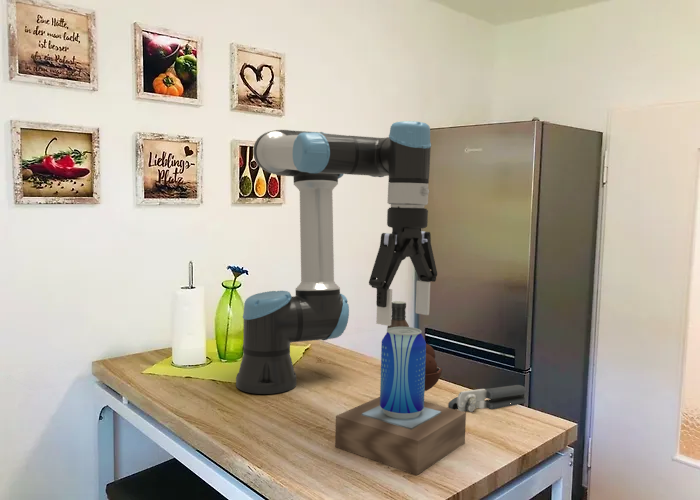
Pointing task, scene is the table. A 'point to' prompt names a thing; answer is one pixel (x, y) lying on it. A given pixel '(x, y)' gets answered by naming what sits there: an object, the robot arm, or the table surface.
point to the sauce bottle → (398, 314)
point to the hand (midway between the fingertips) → (403, 319)
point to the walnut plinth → (401, 435)
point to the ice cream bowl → (431, 368)
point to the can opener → (495, 395)
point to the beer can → (402, 372)
